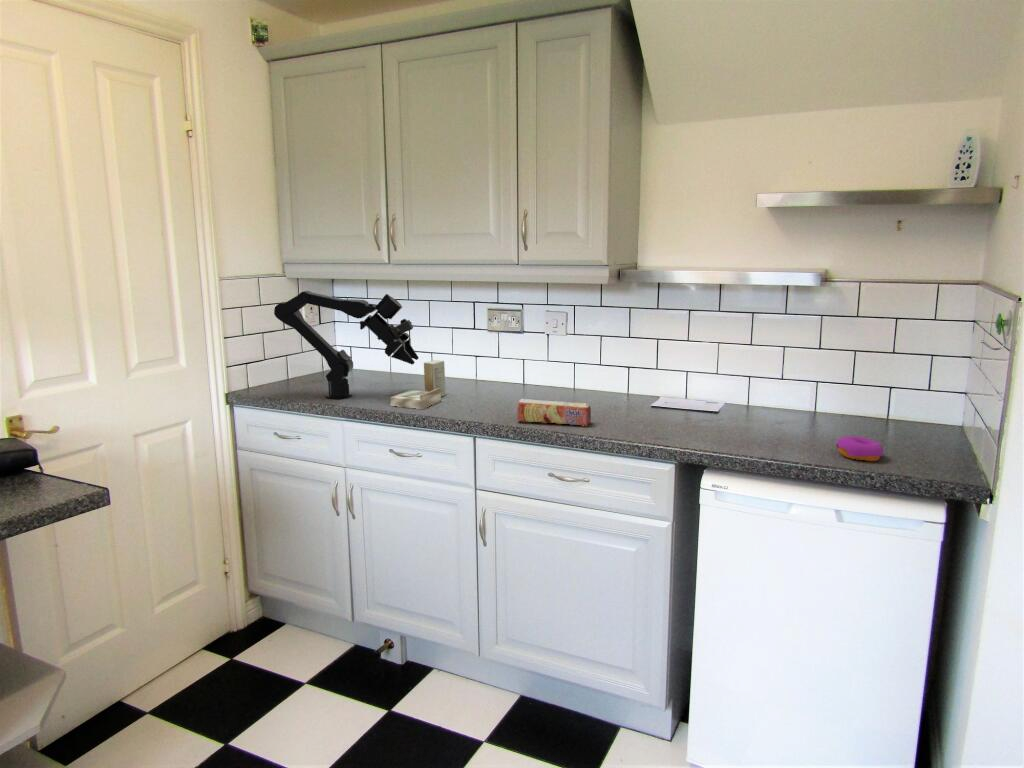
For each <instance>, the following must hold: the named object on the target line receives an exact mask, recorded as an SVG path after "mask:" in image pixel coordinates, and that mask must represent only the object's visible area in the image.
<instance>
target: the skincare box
mask: <svg viewBox="0 0 1024 768" xmlns="http://www.w3.org/2000/svg"><path fill="white" fill-rule="evenodd" d="M445 370H446V369H445V360H440V359H434V360H429V361H425V362H423V375H424V391H427V392H430V391H432V390H434V389H437V388H441V397H444V396H446V395H447V394H446V392H447V391H446V374H445V373H446V371H445Z"/></svg>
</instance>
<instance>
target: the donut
mask: <svg viewBox="0 0 1024 768" xmlns="http://www.w3.org/2000/svg"><path fill="white" fill-rule="evenodd" d="M836 448H837V449H838V452H839V453H840V454H841V455H842V456H843V457H845V458H846V459H850V458H851V459H850V460H854V459H856V461H863V460H865V461H864V462H876V461H879V459H880V458H881V457H882V456H883V453H884V448H883V446H882V444H881V443H880V442H878V441H875V440H872V439H869V438H866V437H862V436H852V435H851V436H843V437H840V438H838V439H837V440H836Z"/></svg>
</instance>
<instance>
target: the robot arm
mask: <svg viewBox="0 0 1024 768" xmlns="http://www.w3.org/2000/svg"><path fill="white" fill-rule="evenodd" d="M306 305H313V306H318V307H321V308H326V309H331V310H336V311H340V312H342V313H344V314H346V315H348V316H350V317H352V318H355V319H364V318H365V317H366V318H365V319H364V320H360V321H359V325H360V326H359V329H360V330H364V329H365V328H367V329H368V330H370V332H372V333H373V334H374V335H375V337H377V340H378V341H381V342H383V343H384V345H386V346H385V348H384V354H385V355H386V356H387V357H391V358H393V359H396V360H399V361H401V362H405V363H408V364H409V365H413V366H414V364H415V360H416V361H417V360H419V356H418V354H417V352H416V351H415V350H414V348H413V346H412V345H411V341H412V340H411V335H409V333H408V332H409V331H411V330H413V329H414V326H413V324H412V323H413V322H412V321H411V320H410V319H406V318H403V319H401V320H400V324H398V325H396V326H395V325H393V324H389V322H387V321H386V320H388V319H389V320H392V319H393V317H395V315H397V314H398V312H399V311H400V310H401V309H403V306H402V304H401V303H400V302H399V300H397V299H395V298H394V297H392V295H391V296H390V295H389V294H388V293H386V294H385V295H383V297H382V299H381V300H380V301H379V302H378V303H377V304H376V303H369V301H367V300H365V299H354V298H353V299H352V298H351V299H349V298H348V299H346V298H345V299H343V298H339V297H335V296H330V295H326V294H322V293H316V292H312V291H310V290H303V291H301V292H299V294H297V295H296V296H294V297H292V298H291V299H289V300H287V301H283V302H280V303H277V304H276V306H274V309H273V314H274V316H275V318H277V320H279V321H280V322H282V323H283V324H285V325H287V326H288V327H291V328H292V329H294V330H295V331H296V332H297V333H299V335H300V336H302V338H303V339H305V340H306V342H308V344H310V345H311V346H312V347H313V348H314V349H315V350H316V351H317V352H318V353H319V354H320V355H321V356H322V357H323V358H324V360H325V361H326V363H327V366H328V367H329V369H330V371H329V372H328V373H327V374H326V375H325V377H326V381H327V385H328V394H327V395H325V398H328V399H336V400H341V399H345V398H348V397H352V395H353V394H352V393H350V384H349V379H348V378H347V377H349V374H350V373H351V372H352V370H353V369H354V362H353V360H352V356H350V355H348V353H347V352H346V351H345V349H341V350H337V349H335V348H334V347H333V346H332V345H331V344H330V343H329V342H327V340H326V339H324V337H323V336H321V335H320V334H319V332H318V331H316V330H315V329H314V328H313V327H312V326H311V324H309V323H308V322H307V321H306V320H305V318H304V316H303V314H302V313H301V311H300V310H301V309H302V308H304V306H306ZM375 311H376V312H375ZM374 312H375V313H374ZM372 313H374V314H373V315H371V314H372ZM369 314H370V315H369Z"/></svg>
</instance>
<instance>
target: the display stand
mask: <svg viewBox="0 0 1024 768" xmlns="http://www.w3.org/2000/svg"><path fill="white" fill-rule="evenodd" d="M389 399H390V400H389V401H390V407H391V406H397V407H396V408H401V407H406V408H405V409H412V408H416V409H415V410H425V408H426V409H427V407H428V408H430V407H432V406H434V405H437V404H438V402H439V403H440V401H441V402H442V396H441V388H437V389H434V390H432V391H430V392H427V391H425V390H424V391H423V390H414V389H412V390H411V389H407V390H406V391H403V392H401V393H398V394H395V395H393V396H390V397H389ZM436 403H437V404H436ZM431 405H432V406H431ZM429 406H430V407H429Z"/></svg>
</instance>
